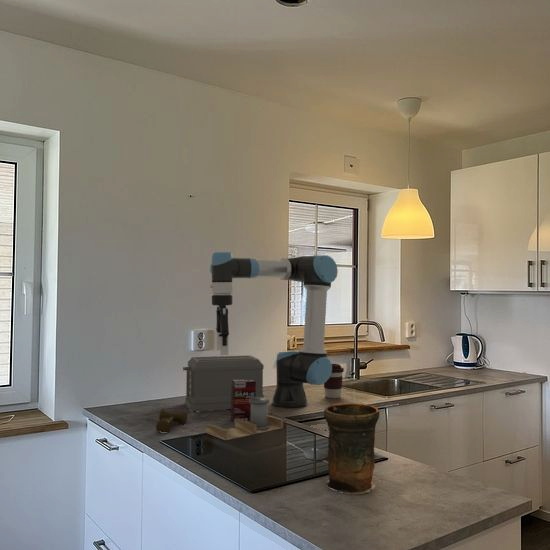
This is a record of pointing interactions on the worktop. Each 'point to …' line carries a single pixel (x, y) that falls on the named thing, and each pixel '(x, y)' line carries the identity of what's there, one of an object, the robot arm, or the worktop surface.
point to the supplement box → (242, 399)
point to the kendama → (170, 419)
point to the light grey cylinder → (259, 412)
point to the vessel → (351, 447)
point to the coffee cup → (334, 382)
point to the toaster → (219, 380)
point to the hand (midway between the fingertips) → (222, 352)
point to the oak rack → (243, 428)
